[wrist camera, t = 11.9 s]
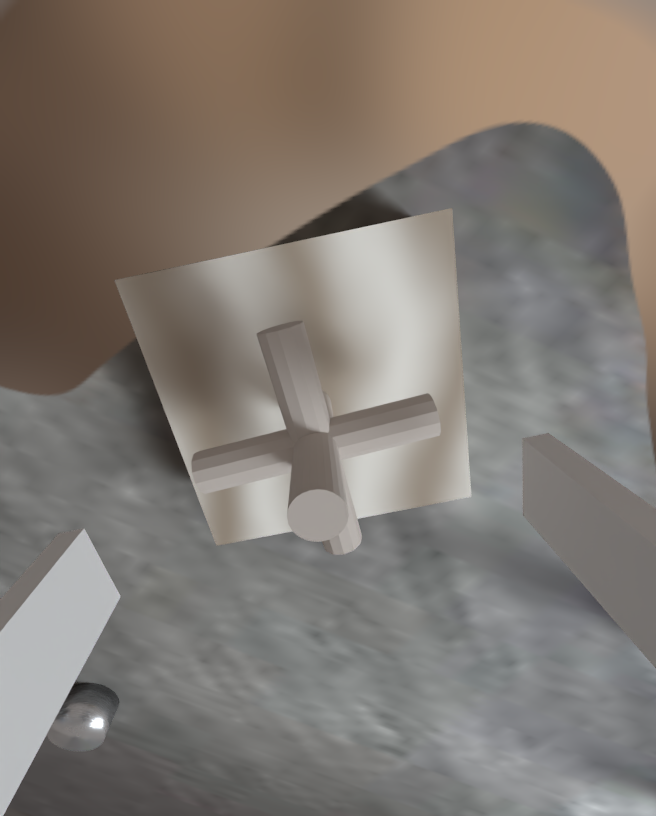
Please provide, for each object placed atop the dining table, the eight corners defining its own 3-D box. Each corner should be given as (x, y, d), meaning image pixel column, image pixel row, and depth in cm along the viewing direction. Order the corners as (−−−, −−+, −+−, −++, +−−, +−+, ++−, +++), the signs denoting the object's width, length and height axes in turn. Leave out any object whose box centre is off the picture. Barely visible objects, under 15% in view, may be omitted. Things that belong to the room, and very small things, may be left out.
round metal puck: (79, 719, 38) (61, 755, 36) (56, 687, 37) (36, 722, 34) (127, 710, 38) (113, 746, 35) (107, 677, 36) (90, 712, 34)
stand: (233, 491, 29) (216, 545, 24) (160, 274, 24) (114, 280, 18) (439, 450, 29) (471, 496, 23) (417, 220, 23) (451, 208, 18)
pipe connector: (254, 502, 23) (214, 668, 13) (192, 338, 19) (79, 403, 10) (420, 461, 22) (501, 603, 13) (386, 286, 19) (463, 302, 9)
